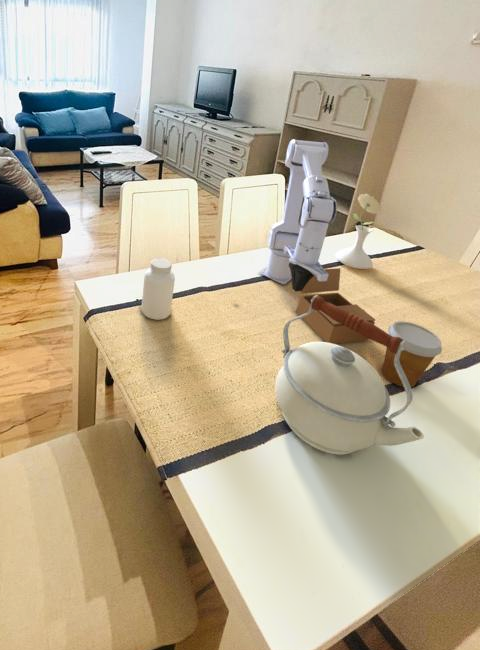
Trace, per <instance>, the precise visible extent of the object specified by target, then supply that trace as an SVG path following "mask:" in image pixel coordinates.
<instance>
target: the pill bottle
mask: <svg viewBox="0 0 480 650" xmlns="http://www.w3.org/2000/svg"><path fill="white" fill-rule="evenodd" d="M172 266H173V265H172V262H171V261H170V260H168V259H166V258H162V257H161V258H160V257H158V258H157V257H156V258H154V259H152V260H151V262H150V267H149V268H148V269H146V271H145V272H144V275H143V285H142V286H143V287H142V297H141V298H142V299H141V313H142V314H143V315H144V316H145V317H147V318H148V319H151V320H157V321H160V320H165V319H167V318H168V317H169V316H170V314H171V312H172V306H173V305H172V304H173V295H174V289H175V281H176V278H175V274H174V272H173V271H172V268H173V267H172Z"/></svg>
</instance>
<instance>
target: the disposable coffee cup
mask: <svg viewBox="0 0 480 650" xmlns="http://www.w3.org/2000/svg"><path fill="white" fill-rule="evenodd" d="M387 334H389V335H391V336H393V337H400V338H401V339H402V340H405V344H404V348H405V349H404V350H403V351H401V354H400V357H399V361H400V364H401V367H402V369H403V371H404V373H405V375H406V377H407V380H408V382H409V384H410V387H411V388H414V387H415V385H416V384H417V382H418V381H419V380H420V378H421V377H422V376H423V374H424V373H425V371H426V370H427V369H428V367H430V364H432V362H433V360H434V359H435V358H436V357H437V356H438V355H440V354H441V353H442V351H443V348H442V341H441V339H440V338H439V336H438V335H436V334H435V333H434V332H433V331H431V330H429V329H428V328H426V327H424V326H422V325H419V324H417V323H414V322H411V321H402V320H399V321H395V322H394V323H392V325H390V326H389V327H388V329H387ZM395 355H396V353H392V352H390V350H389V349H388V348H387V347H385V354H384V358H383V363H382V366H381V367H382V368H381V373H382V375H383V376H384V378H386V379H387V380H388V381H389V382H391V383H393V384H394V385H396V386H399V387H402V388H404V386H403V383H402V381H401V379H400V377H399V375H398V373H397V370H396V368H395V365H394V358H395Z"/></svg>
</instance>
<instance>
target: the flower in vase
mask: <svg viewBox="0 0 480 650" xmlns="http://www.w3.org/2000/svg"><path fill="white" fill-rule="evenodd" d="M357 201H358V203H359V205H360V207H361V208H362V209H363V210H362V211H361V213H360V215H358V214H357V213H353V214H352V215H351V217H353V218H354V219H355V220H356V221H359V222H360V224H359V225H355V229H356V232H357V233H356V238H355V242H354V245H353V246H351V247H348V248H343V249H341V250H339V251H337V252H336V253H335V257H336V260H337V261H338V262H339V263H341V264H343V265H345V266H346V267H349V268H353V269H358V270H368V269H370V268H372V267H373V265H374V263H373V260H372V259H371V257H370V256H369V255H368V254H367V253H366V252H365V250H364V249H363V245H364V242H365V240H366V238H367V237H368V235H369V234H370V233H372V232H373V229H372V228H371V227H369V226H367V225H371V224H373V223H375V221H366V222H363V220H362V216H363V213H364V212H365V210H366V212H367V213H370V214H374V215H378V214H379V213H380V211H381V206H380V205H381V203H380V202H378V199H375V196H373V195H372V196H371V195H370V194H368V193H364V194H363V193H361V194H359V196H358V197H357Z"/></svg>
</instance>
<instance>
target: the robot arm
mask: <svg viewBox="0 0 480 650" xmlns="http://www.w3.org/2000/svg"><path fill="white" fill-rule="evenodd" d="M328 155H329V144H328V143H327V142H325V141H323V142H321V141H311V140H299V139H296V138H295V139H294V138H293V139H291V140H290V141H289V143H288V145H287V149H286V155H285V161H284V163H285V167H287V168H289V173H290V174H289V180H288V185H287V189H286V196H285V203H284V207H283V213H282V217H281V218H282V219H281V220H279V221H277V222H275V223H273V224H272V225H271V227H270V231H269V232H268V237H267V247H268V249H269V250H270V253H269V258H268V261H267V266H266V269H264V270H263V271H261V272H260V275H261V276H264V277H266V278H268V279H270V280H273V281H275V282H276V283H279V284H281V285H286V284H287V283H289V281H291V288H292V290H293V291H294V292H295V293H296V292H301V291H302V290H303V288H304V287H305V285H306V284H307V283H308V281H309V280H310V279H311V278H312V277H314V276H316V277H317V280H318V281H327V278H328V275H329V274H328V273H327V272H326V271H325V270H324V269H325V268H323V266H322V264H321V263H320V262H319V259H320V256H321V254H322V253H321V252H322V250H323V246H324V242H325V239H326V235H327V231H328V228H329V225H330V224H333V222H334V221H335V219H336V216H337V211H338V204H337V200H336V199H335V198H334V197H333V196H331V194H330V189H329V183H328V180H327V178H326V177H325V176H323V169H322V168H323V165H324V163H325V162H326V161H327V159H328ZM300 215H301V217H300ZM299 220H300V223H299Z"/></svg>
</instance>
